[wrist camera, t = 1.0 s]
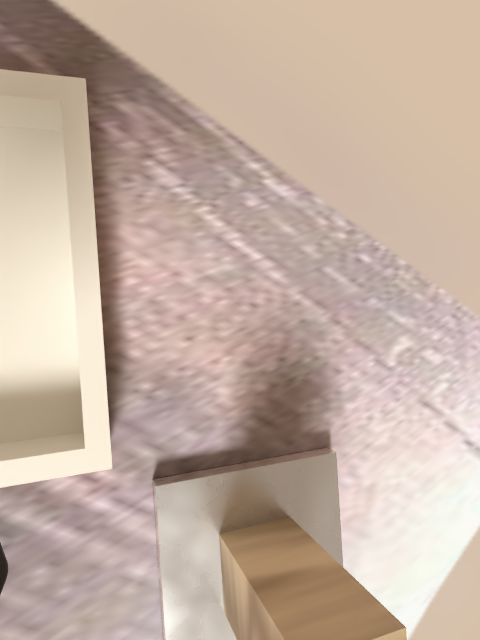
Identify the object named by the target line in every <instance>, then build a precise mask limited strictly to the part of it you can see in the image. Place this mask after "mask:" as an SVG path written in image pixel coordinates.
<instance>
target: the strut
mask: <svg viewBox="0 0 480 640" xmlns="http://www.w3.org/2000/svg"><path fill="white" fill-rule="evenodd" d="M219 541H220V557H221V572H222V588H223V603H224V613H225V615H226V617H227V620H228V622H229V624H230V626H231V628H232V630H233V632H234V634H235V637H236V639H237V640H407V638H406V627H405V626H404V625H403V624H402V623H401V622H400V621H399V620H398V619H396V618H395V617H394V616H393V615H392V614H391V613H390V612H389V611H388V610H387V609H386V608H385V607H384V606H383V605H382V604H381V603H380V602H379V601H378V600H377V599H376V598H375V597H373V596H372V595H371V594H370V593H369V592H368V591H367V590H366V589H365V588H364V587H363V586H362V585H361V584H360V583H359V582H358V581H357V580H356V579H355V578H354V577H353V576H352V575H350V574H349V573H348V572H347V571H346V570H345V569H344V568H343V567H342V566H341V565H340V564H339V563H338V562H337V561H336V560H335V559H334V558H333V557H332V556H331V555H330V554H329V553H327V552H326V551H325V550H324V549H323V548H322V547H321V546H320V545H319V544H318V543H317V542H316V541H315V540H314V539H313V538H312V537H311V536H310V535H309V534H308V533H307V532H305V531H304V530H303V529H302V528H301V527H300V526H299V525H298V524H297V523H296V522H295V521H294V520H293V519H292V518H291V517H290V518H286V519H281V520H277V521H273V522H269V523H264V524H260V525H256V526H251V527H247V528H243V529H239V530H234V531H230V532H226V533H222V534H219Z"/></svg>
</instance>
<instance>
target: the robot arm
mask: <svg viewBox="0 0 480 640" xmlns="http://www.w3.org/2000/svg"><path fill="white" fill-rule="evenodd" d="M7 574H8V563H7V560H6V557H5V554H4V552H3V549H2V546H1V543H0V594H1V592H2V589H3V586H4V584H5V581H6V578H7Z"/></svg>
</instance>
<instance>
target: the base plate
mask: <svg viewBox="0 0 480 640" xmlns="http://www.w3.org/2000/svg"><path fill="white" fill-rule="evenodd" d="M153 494H154V509H155V524H156V539H157V554H158V569H159V584H160V599H161V614H162V629H163V640H237V639H236V637H235V634H234V632H233V630H232V628H231V626H230V624H229V622H228V620H227V617H226V615H225V613H224V603H223V588H222V572H221V557H220V541H219V534H222V533H226V532H230V531H234V530H239V529H243V528H247V527H251V526H256V525H260V524H264V523H269V522H273V521H277V520H281V519H286V518H290V517H291V518H292V519H293V520H294V521H295V522H296V523H297V524H298V525H299V526H300V527H301V528H302V529H303V530H304V531H305V532H307V533H308V534H309V535H310V536H311V537H312V538H313V539H314V540H315V541H316V542H317V543H318V544H319V545H320V546H321V547H322V548H323V549H324V550H325V551H326V552H327V553H329V554H330V555H331V556H332V557H333V558H334V559H335V560H336V561H337V562H338V563H339V564H340V565H341V566H342V567H343V558H342V541H341V525H340V508H339V492H338V475H337V459H336V452H334V451H332V450H330V449H329V448H322V449H317V450H311V451H306V452H300V453H295V454H289V455H284V456H278V457H273V458H267V459H262V460H256V461H251V462H245V463H240V464H234V465H229V466H223V467H218V468H212V469H207V470H201V471H196V472H190V473H185V474H179V475H174V476H168V477H163V478H157V479H153Z"/></svg>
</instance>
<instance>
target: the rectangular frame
mask: <svg viewBox="0 0 480 640" xmlns="http://www.w3.org/2000/svg"><path fill="white" fill-rule="evenodd" d="M108 469H112V457H111V443H110V428H109V413H108V399H107V384H106V369H105V354H104V340H103V325H102V310H101V296H100V281H99V266H98V251H97V237H96V222H95V207H94V193H93V178H92V163H91V148H90V134H89V119H88V104H87V90H86V78H77V77H67V76H58V75H49V74H40V73H31V72H22V71H13V70H4V69H0V488H1V487H7V486H13V485H19V484H25V483H31V482H37V481H42V480H48V479H54V478H60V477H66V476H72V475H78V474H84V473H90V472H96V471H102V470H108Z"/></svg>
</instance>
